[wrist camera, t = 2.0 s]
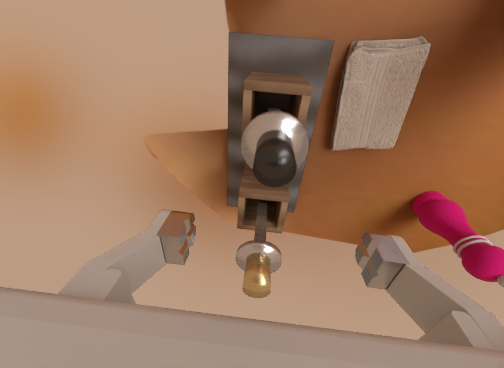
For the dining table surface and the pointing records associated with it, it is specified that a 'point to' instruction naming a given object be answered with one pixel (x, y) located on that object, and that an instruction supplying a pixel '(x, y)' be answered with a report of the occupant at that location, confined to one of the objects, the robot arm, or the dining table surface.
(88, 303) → the robot arm
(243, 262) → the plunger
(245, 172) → the grey holder stand
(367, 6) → the dining table surface
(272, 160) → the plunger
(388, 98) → the washcloth
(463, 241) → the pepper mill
